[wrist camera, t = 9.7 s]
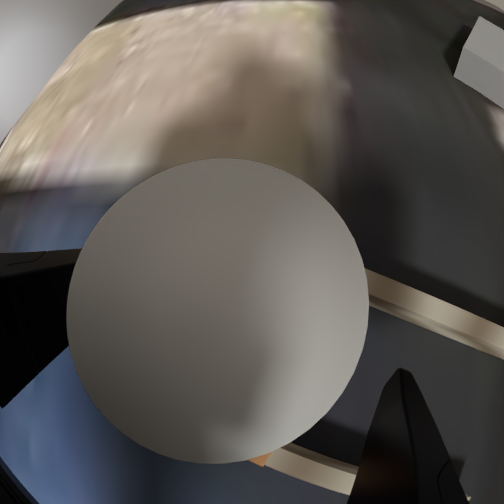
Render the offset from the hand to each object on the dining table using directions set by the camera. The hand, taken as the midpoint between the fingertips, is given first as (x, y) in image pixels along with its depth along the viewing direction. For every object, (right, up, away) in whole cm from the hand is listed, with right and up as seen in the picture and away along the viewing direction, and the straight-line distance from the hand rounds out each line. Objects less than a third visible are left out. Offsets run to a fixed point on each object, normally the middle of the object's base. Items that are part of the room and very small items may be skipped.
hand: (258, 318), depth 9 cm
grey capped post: (+1, -3, +7) cm, 8 cm away
